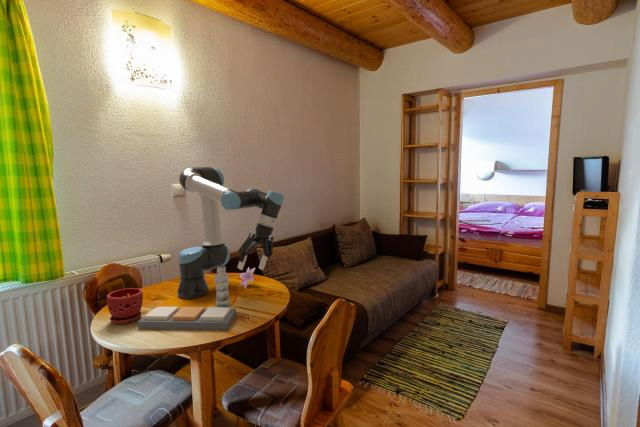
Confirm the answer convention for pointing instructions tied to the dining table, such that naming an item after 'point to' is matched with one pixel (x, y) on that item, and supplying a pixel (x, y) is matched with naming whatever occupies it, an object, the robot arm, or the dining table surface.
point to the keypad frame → (188, 323)
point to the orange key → (188, 313)
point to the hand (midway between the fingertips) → (250, 269)
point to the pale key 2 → (215, 314)
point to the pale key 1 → (161, 313)
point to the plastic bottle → (222, 287)
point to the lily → (247, 277)
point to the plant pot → (125, 305)
